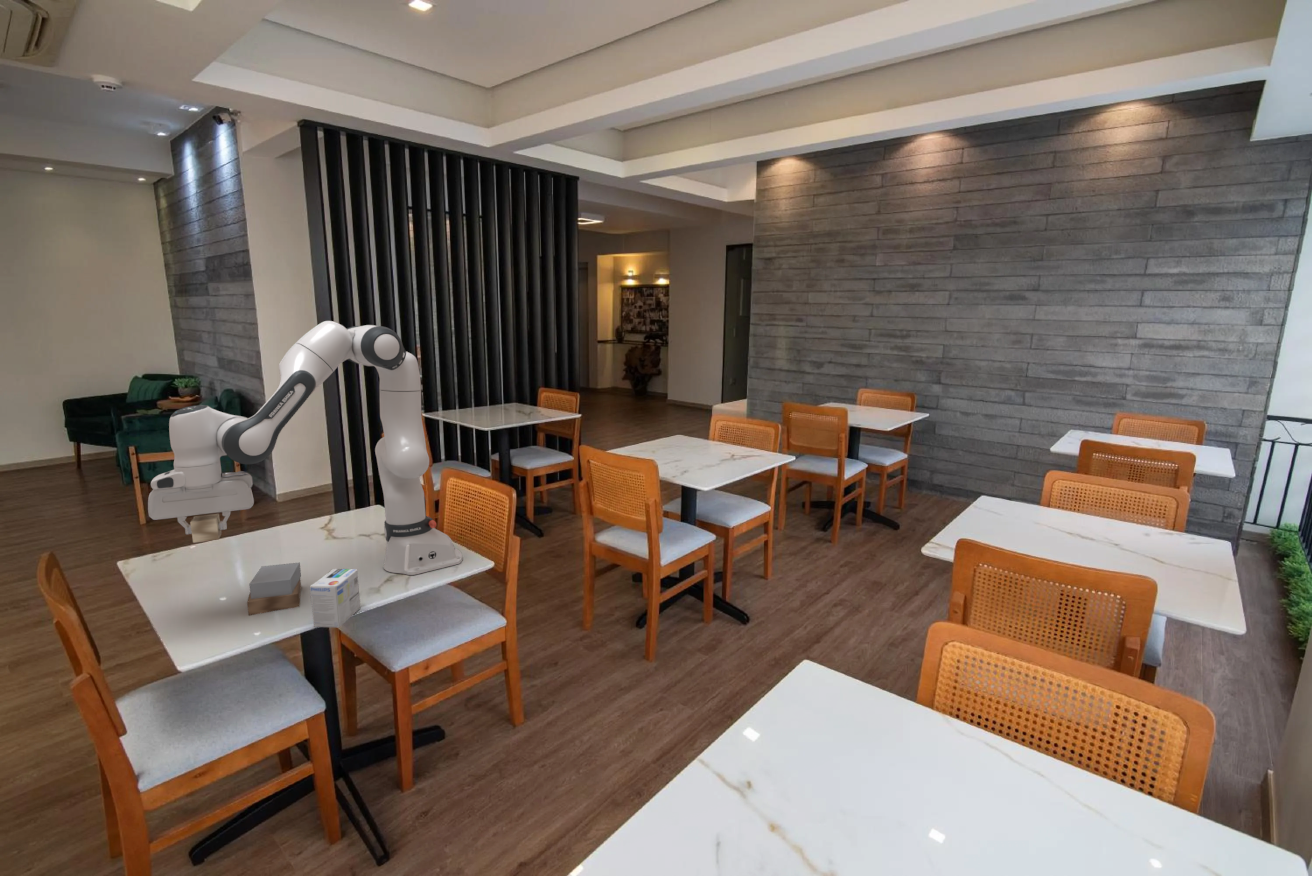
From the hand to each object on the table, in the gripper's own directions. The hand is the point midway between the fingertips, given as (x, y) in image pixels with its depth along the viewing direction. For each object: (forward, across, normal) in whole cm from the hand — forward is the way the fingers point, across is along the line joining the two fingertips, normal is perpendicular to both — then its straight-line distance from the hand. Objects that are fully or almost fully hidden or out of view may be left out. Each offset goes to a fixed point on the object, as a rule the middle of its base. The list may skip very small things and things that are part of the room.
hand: (206, 531), depth 150 cm
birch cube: (+2, 0, 0) cm, 2 cm away
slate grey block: (+19, -12, -6) cm, 24 cm away
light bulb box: (+23, -26, +12) cm, 37 cm away
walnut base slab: (+23, -12, -6) cm, 27 cm away
